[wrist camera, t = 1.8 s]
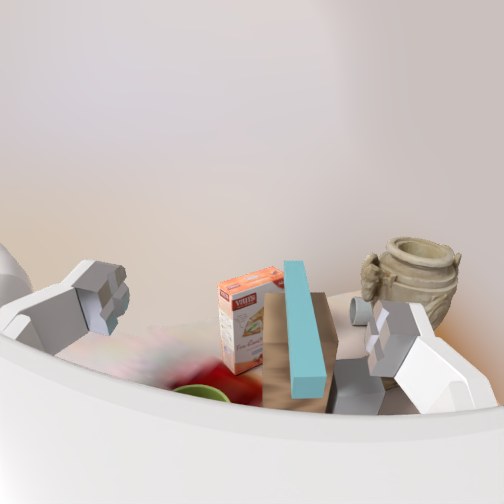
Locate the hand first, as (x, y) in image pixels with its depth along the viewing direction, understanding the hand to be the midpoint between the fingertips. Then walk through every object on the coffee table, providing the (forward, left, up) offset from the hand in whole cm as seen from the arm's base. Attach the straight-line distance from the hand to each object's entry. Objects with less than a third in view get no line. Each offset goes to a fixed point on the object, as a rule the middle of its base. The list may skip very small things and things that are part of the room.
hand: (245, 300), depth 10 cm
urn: (+28, +42, -45) cm, 68 cm away
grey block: (+14, +25, -44) cm, 53 cm away
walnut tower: (+4, +27, -44) cm, 52 cm away
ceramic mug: (+27, +64, -45) cm, 82 cm away
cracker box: (-3, +49, -45) cm, 66 cm away
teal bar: (+4, +25, -18) cm, 32 cm away
